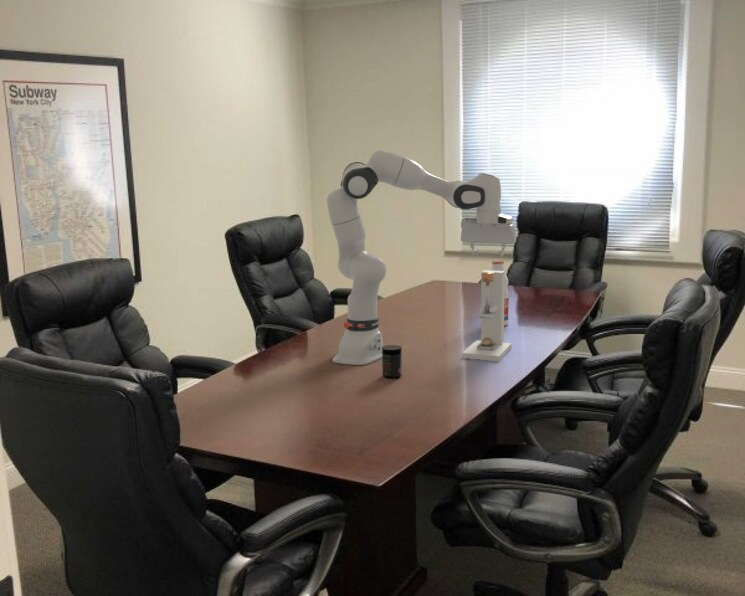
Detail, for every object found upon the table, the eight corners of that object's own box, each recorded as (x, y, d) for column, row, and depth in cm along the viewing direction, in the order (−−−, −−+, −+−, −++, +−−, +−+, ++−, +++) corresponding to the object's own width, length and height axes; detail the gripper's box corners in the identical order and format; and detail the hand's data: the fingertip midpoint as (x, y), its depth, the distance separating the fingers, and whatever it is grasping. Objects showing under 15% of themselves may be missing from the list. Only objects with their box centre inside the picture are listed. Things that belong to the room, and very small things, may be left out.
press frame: (499, 361, 291) (499, 280, 285) (461, 358, 296) (461, 278, 290) (511, 348, 309) (512, 271, 303) (476, 345, 314) (476, 269, 308)
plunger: (493, 319, 296) (493, 274, 293) (477, 318, 298) (477, 273, 295) (497, 315, 301) (497, 272, 298) (481, 314, 304) (481, 271, 300)
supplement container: (399, 380, 271) (398, 350, 269) (380, 378, 273) (379, 349, 271) (404, 374, 277) (403, 345, 275) (385, 373, 279) (384, 344, 277)
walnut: (491, 349, 300) (491, 339, 299) (480, 348, 301) (480, 338, 300) (493, 347, 303) (493, 336, 302) (483, 346, 305) (483, 336, 304)
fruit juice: (499, 321, 355) (500, 258, 350) (512, 325, 347) (513, 261, 341) (482, 323, 351) (482, 260, 346) (494, 327, 343) (495, 263, 337)
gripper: (458, 218, 294) (458, 255, 296) (513, 219, 286) (513, 257, 289) (463, 216, 300) (463, 253, 302) (517, 217, 292) (516, 255, 294)
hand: (488, 255), depth 295 cm, fingers open, 8 cm apart
